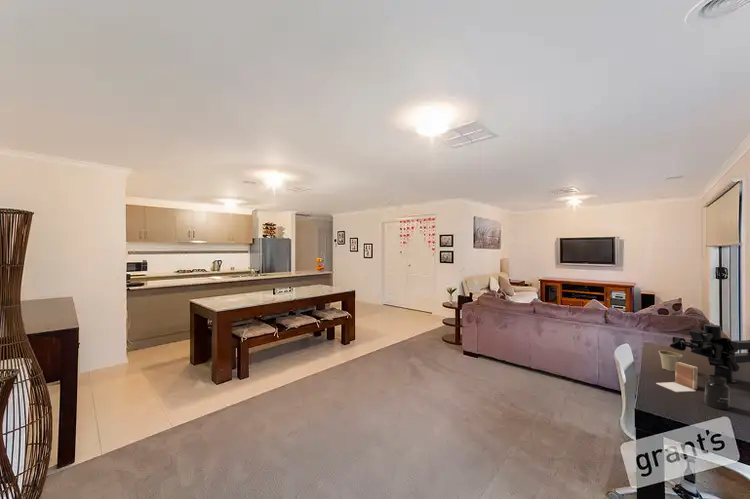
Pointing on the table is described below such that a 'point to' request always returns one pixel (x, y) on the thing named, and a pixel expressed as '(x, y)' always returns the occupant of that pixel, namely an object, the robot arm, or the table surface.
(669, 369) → the flower pot
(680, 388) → the felt mat
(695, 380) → the maple tile
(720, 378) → the supplement bottle
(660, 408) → the table surface
